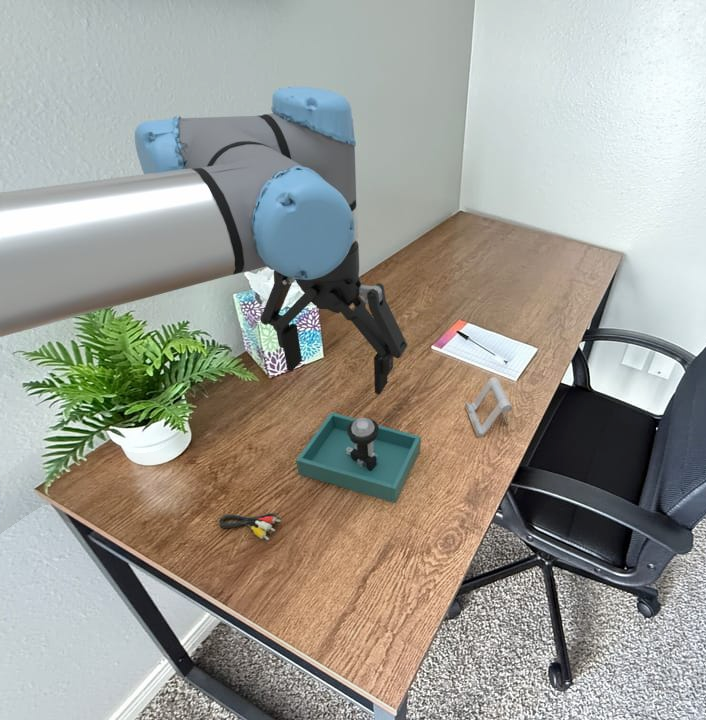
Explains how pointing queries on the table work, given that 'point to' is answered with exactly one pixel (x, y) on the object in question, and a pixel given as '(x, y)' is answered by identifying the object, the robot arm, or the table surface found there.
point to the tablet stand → (501, 407)
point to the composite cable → (253, 523)
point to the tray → (338, 468)
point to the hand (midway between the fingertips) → (337, 376)
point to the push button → (363, 442)
